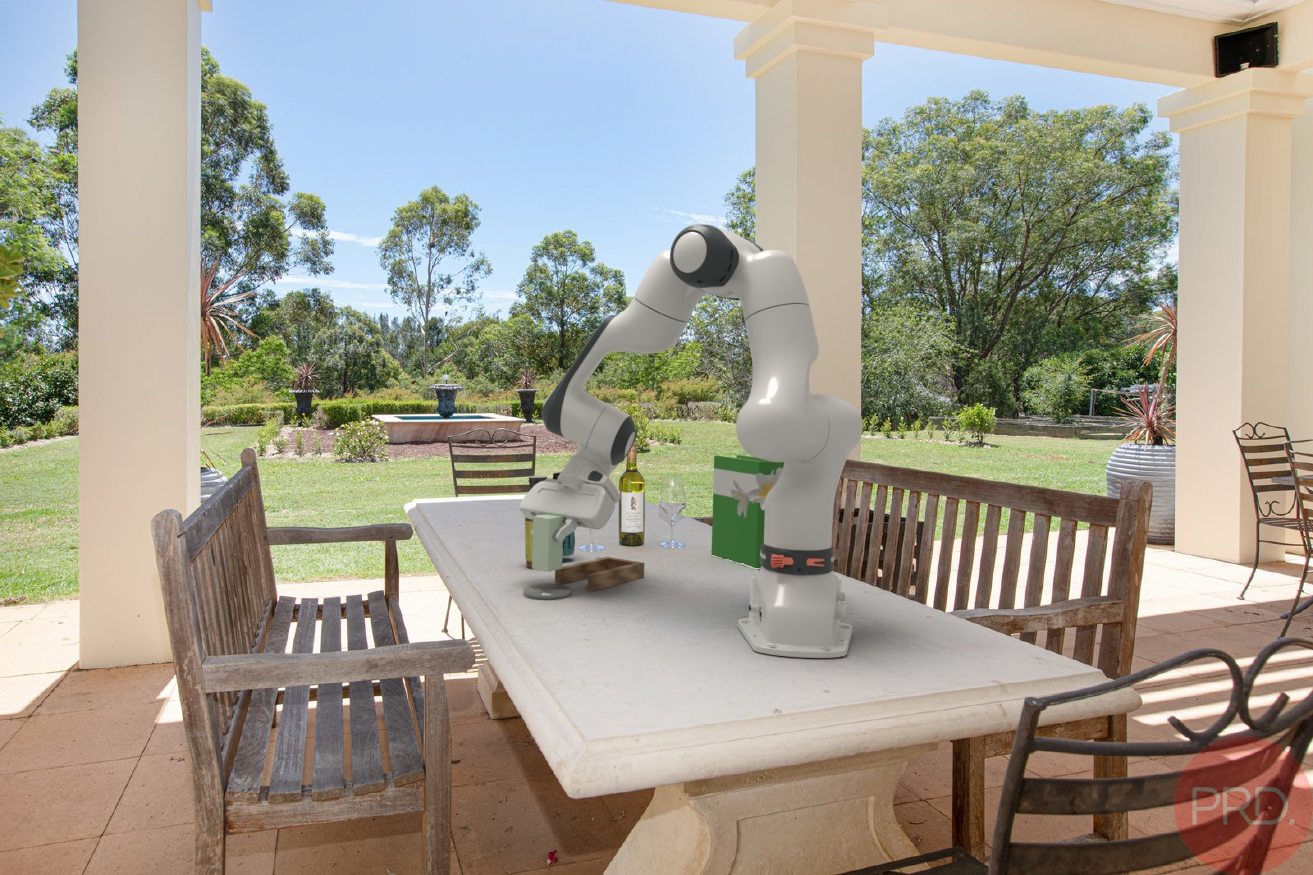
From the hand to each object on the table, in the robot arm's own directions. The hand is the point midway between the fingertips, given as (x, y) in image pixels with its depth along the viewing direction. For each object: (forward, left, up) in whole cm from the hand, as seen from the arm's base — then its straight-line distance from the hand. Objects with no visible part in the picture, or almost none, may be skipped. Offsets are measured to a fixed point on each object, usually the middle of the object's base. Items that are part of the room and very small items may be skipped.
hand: (545, 538), depth 160 cm
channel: (+13, -8, -11) cm, 19 cm away
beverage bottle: (+32, +4, -11) cm, 34 cm away
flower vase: (+3, -44, -11) cm, 45 cm away
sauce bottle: (+24, +7, -11) cm, 28 cm away
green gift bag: (+41, -38, -11) cm, 57 cm away
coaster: (0, 0, -11) cm, 11 cm away
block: (+1, 0, -6) cm, 6 cm away
